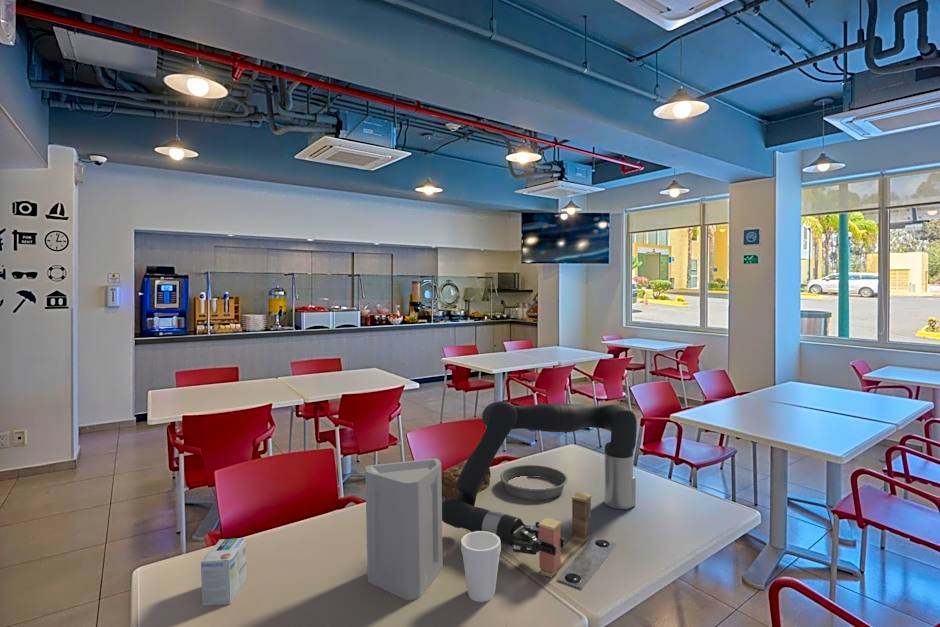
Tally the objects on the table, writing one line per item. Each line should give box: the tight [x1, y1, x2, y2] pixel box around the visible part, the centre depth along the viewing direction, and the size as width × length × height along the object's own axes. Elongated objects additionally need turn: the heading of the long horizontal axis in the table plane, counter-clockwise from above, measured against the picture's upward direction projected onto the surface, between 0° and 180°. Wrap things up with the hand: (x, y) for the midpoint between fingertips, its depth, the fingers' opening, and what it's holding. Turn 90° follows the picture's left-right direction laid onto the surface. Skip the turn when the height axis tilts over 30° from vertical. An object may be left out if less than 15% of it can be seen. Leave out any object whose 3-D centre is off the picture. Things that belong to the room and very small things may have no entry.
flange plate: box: [556, 537, 617, 589], centre depth 131 cm, size 25×6×1 cm, turn 145°
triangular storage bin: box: [364, 457, 444, 601], centre depth 122 cm, size 19×15×28 cm
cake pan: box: [499, 464, 569, 501], centre depth 180 cm, size 25×25×4 cm
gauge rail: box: [540, 491, 592, 579], centre depth 134 cm, size 25×4×13 cm, turn 145°
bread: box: [441, 459, 492, 499], centre depth 177 cm, size 19×11×10 cm, turn 140°
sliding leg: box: [538, 517, 562, 573], centre depth 126 cm, size 4×4×12 cm
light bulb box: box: [200, 537, 248, 607], centre depth 119 cm, size 11×7×11 cm, turn 5°
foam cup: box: [460, 531, 502, 603], centre depth 117 cm, size 10×9×13 cm
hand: (559, 546), depth 124 cm, fingers closed on sliding leg, 4 cm apart
